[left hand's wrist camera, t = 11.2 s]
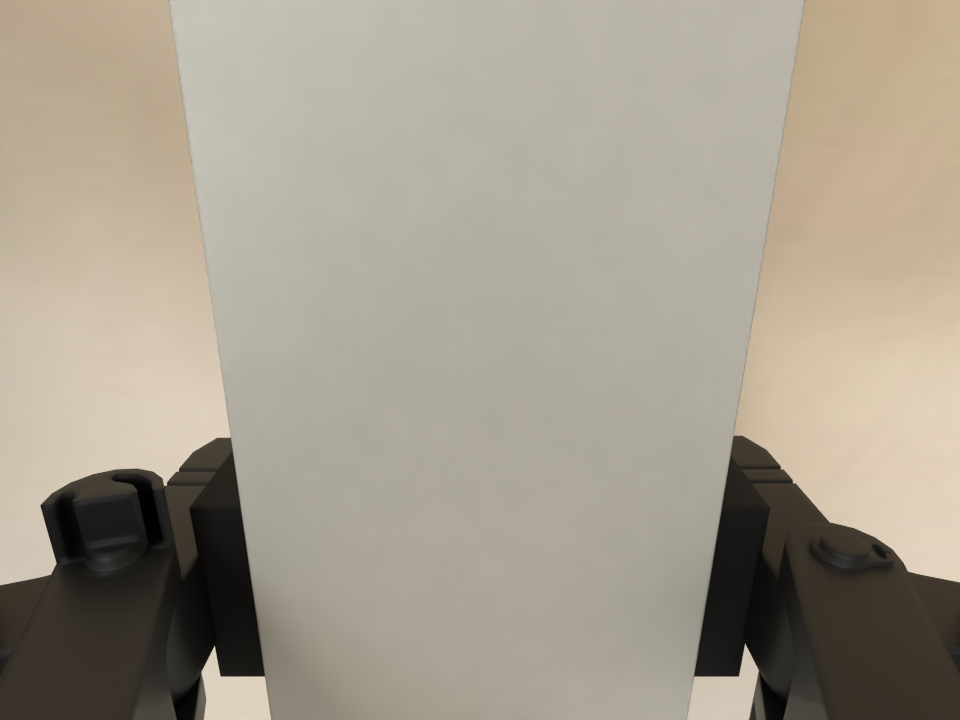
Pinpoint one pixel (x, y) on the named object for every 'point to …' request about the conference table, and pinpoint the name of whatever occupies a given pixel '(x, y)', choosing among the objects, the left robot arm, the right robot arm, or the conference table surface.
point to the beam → (483, 334)
